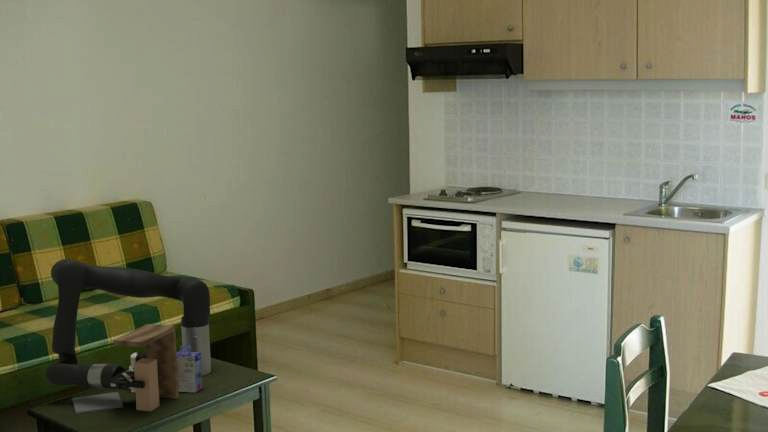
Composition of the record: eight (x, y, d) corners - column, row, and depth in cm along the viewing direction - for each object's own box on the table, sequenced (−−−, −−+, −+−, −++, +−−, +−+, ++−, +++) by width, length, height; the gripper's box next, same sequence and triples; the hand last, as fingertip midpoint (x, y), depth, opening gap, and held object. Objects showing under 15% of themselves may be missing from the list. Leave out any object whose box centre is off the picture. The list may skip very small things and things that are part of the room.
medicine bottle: (152, 383, 308) (150, 349, 306) (153, 390, 301) (151, 354, 300) (130, 386, 306) (128, 351, 304) (131, 392, 299) (129, 357, 297)
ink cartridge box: (203, 387, 303) (201, 345, 301) (196, 393, 298) (194, 349, 295) (175, 386, 305) (173, 344, 303) (168, 391, 300) (165, 348, 297)
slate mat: (72, 400, 293) (72, 398, 293) (117, 393, 299) (117, 391, 299) (76, 414, 281) (75, 412, 281) (123, 407, 286) (123, 405, 286)
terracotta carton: (136, 409, 283) (133, 362, 281) (145, 404, 288) (142, 358, 286) (150, 411, 282) (148, 364, 280) (159, 405, 287) (156, 359, 284)
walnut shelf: (118, 415, 279) (113, 340, 276) (151, 394, 297) (147, 324, 294) (146, 418, 276) (142, 342, 273) (178, 397, 294) (175, 325, 291)
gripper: (91, 371, 281) (138, 375, 276) (118, 358, 294) (163, 361, 289) (93, 395, 282) (139, 399, 277) (119, 380, 295) (164, 384, 290)
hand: (151, 380), depth 283 cm, fingers open, 8 cm apart
